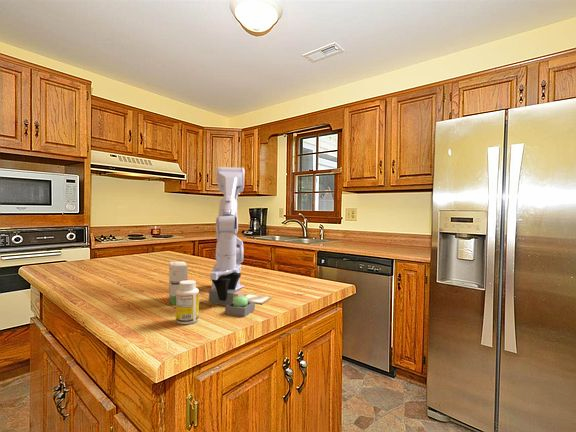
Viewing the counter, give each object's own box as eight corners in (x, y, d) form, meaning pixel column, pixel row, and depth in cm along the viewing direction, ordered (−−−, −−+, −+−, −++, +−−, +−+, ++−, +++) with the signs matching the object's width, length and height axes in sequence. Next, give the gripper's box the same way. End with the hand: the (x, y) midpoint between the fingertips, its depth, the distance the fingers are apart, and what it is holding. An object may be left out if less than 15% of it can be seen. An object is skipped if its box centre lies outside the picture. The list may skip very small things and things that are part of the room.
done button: (230, 308, 86) (230, 298, 86) (237, 304, 90) (237, 295, 89) (243, 310, 84) (243, 300, 84) (250, 306, 88) (250, 296, 88)
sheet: (237, 301, 97) (237, 299, 97) (248, 295, 104) (248, 293, 104) (262, 304, 94) (262, 303, 94) (271, 298, 101) (271, 296, 101)
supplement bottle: (191, 315, 83) (191, 278, 83) (203, 320, 80) (203, 281, 79) (171, 321, 79) (172, 281, 79) (183, 327, 75) (183, 285, 75)
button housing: (225, 313, 85) (225, 305, 85) (236, 307, 91) (236, 299, 91) (244, 316, 83) (244, 308, 83) (254, 309, 89) (254, 302, 89)
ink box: (188, 303, 94) (188, 264, 93) (170, 305, 91) (171, 266, 91) (184, 296, 101) (184, 260, 101) (168, 297, 99) (168, 261, 99)
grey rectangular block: (208, 302, 95) (209, 290, 95) (216, 299, 98) (216, 287, 98) (238, 306, 91) (238, 294, 91) (244, 303, 95) (244, 291, 95)
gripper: (225, 258, 86) (224, 306, 87) (249, 252, 100) (248, 293, 100) (204, 257, 89) (203, 303, 89) (230, 250, 102) (230, 291, 103)
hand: (226, 298), depth 95 cm, fingers closed on grey rectangular block, 4 cm apart
